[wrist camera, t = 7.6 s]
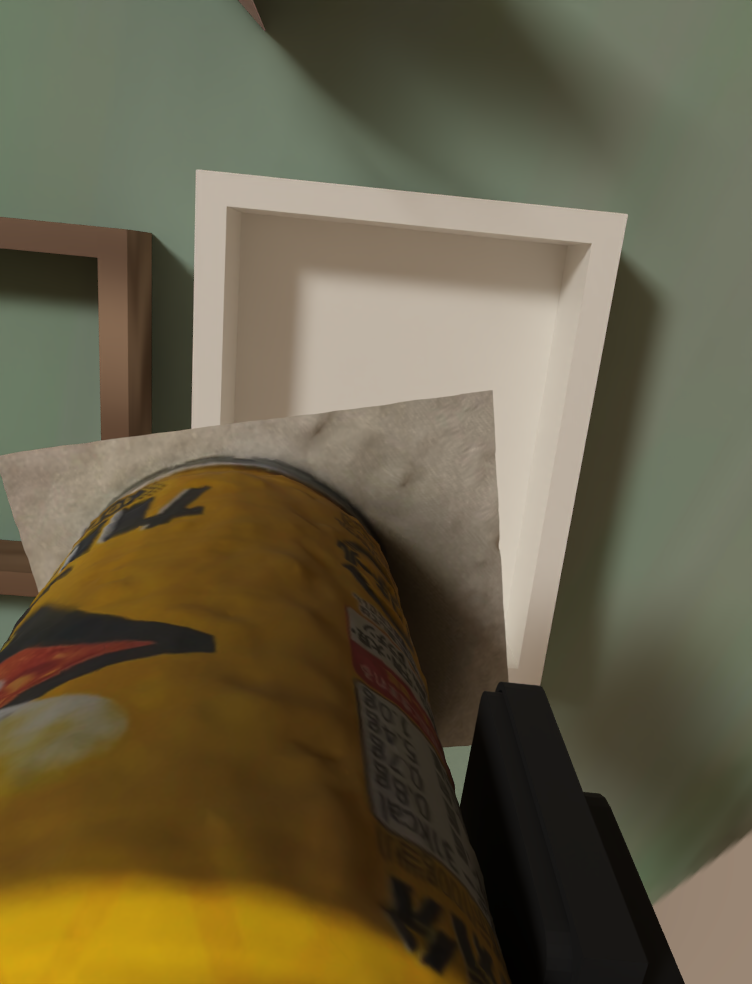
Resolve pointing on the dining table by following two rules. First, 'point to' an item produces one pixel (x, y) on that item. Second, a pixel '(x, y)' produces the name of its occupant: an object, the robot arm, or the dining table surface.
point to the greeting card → (252, 10)
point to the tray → (415, 336)
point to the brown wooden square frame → (119, 339)
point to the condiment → (252, 702)
